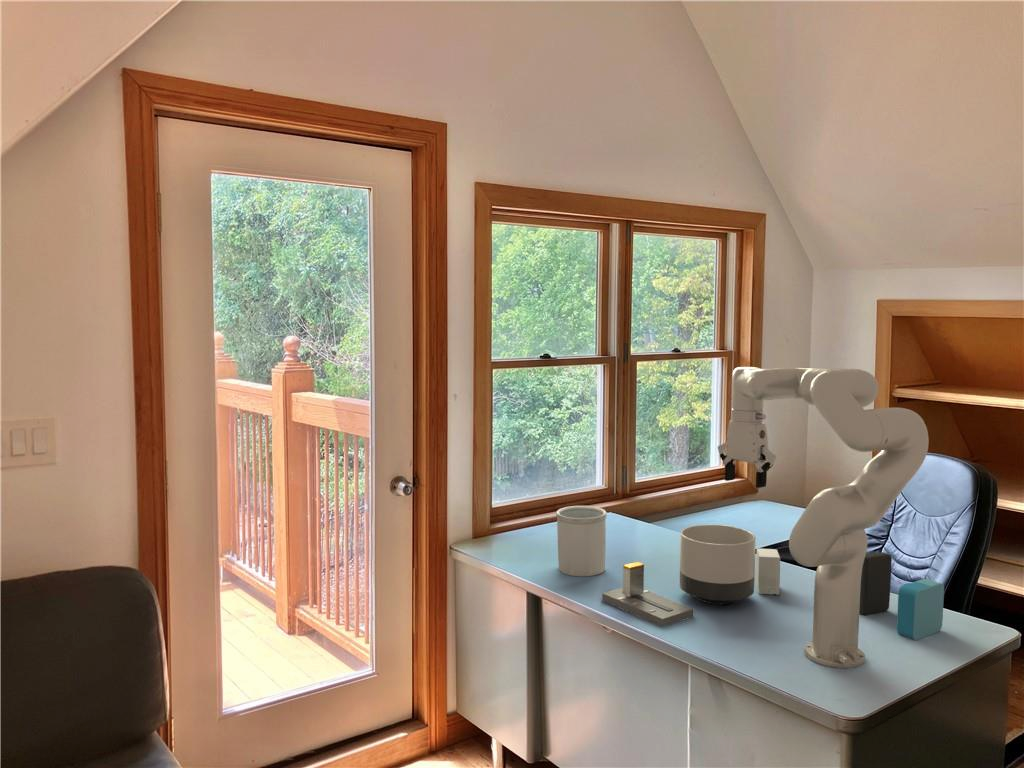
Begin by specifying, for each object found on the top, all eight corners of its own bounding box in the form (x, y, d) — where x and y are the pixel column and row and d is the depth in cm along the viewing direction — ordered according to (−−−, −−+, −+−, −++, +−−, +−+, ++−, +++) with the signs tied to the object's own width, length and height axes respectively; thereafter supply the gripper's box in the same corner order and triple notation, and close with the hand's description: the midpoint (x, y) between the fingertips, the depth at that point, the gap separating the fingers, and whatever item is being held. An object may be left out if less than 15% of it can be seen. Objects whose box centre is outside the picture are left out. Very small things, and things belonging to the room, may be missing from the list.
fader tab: (643, 592, 220) (643, 564, 219) (629, 596, 217) (630, 567, 216) (636, 590, 222) (637, 561, 221) (623, 594, 219) (623, 565, 218)
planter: (753, 589, 229) (755, 527, 228) (754, 615, 211) (756, 547, 209) (682, 583, 235) (683, 522, 233) (676, 608, 216) (677, 541, 214)
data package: (924, 624, 205) (926, 577, 204) (942, 630, 201) (945, 582, 200) (895, 635, 198) (898, 586, 197) (913, 641, 195) (916, 592, 193)
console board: (693, 616, 210) (693, 608, 210) (662, 626, 204) (662, 618, 204) (632, 591, 228) (632, 584, 228) (602, 600, 222) (602, 592, 221)
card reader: (879, 606, 217) (881, 550, 215) (891, 611, 213) (893, 554, 212) (851, 611, 214) (853, 554, 212) (863, 616, 210) (865, 558, 208)
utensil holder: (551, 575, 242) (551, 516, 240) (560, 559, 256) (561, 504, 254) (602, 579, 238) (602, 519, 236) (608, 563, 253) (609, 506, 251)
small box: (779, 595, 225) (780, 557, 224) (758, 594, 226) (759, 556, 225) (776, 585, 233) (777, 548, 232) (755, 584, 234) (756, 547, 233)
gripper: (785, 419, 204) (783, 487, 206) (729, 411, 218) (727, 475, 220) (766, 421, 200) (763, 492, 201) (710, 413, 214) (708, 479, 215)
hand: (745, 483), depth 211 cm, fingers open, 9 cm apart
